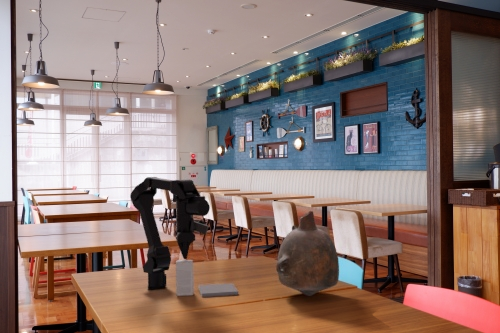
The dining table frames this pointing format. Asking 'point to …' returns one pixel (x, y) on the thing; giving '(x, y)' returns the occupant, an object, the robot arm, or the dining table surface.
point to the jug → (308, 258)
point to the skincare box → (184, 277)
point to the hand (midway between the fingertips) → (184, 257)
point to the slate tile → (218, 290)
